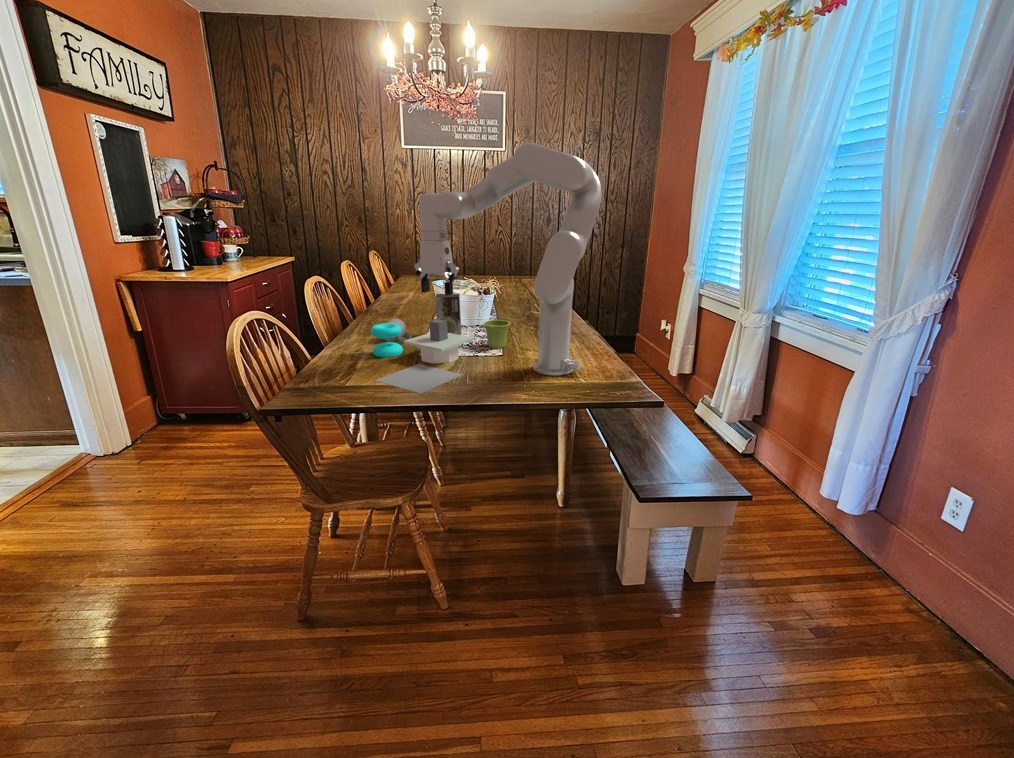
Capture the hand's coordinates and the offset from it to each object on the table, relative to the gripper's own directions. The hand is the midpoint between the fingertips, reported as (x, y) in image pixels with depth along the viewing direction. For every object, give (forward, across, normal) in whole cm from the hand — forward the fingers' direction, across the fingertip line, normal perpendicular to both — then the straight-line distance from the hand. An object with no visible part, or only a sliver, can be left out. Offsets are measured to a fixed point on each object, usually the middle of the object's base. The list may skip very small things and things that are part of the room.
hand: (437, 293), depth 151 cm
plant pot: (+22, -7, -23) cm, 33 cm away
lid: (+16, 0, 0) cm, 16 cm away
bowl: (+22, 0, 0) cm, 22 cm away
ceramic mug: (+22, +29, -8) cm, 37 cm away
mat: (+22, -8, +18) cm, 29 cm away
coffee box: (+22, +16, -24) cm, 36 cm away
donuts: (+22, +18, +6) cm, 29 cm away
